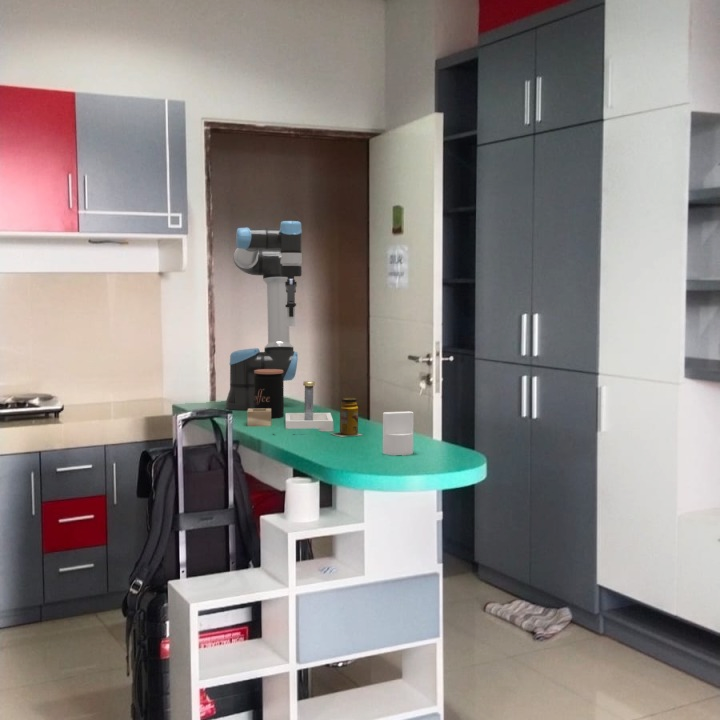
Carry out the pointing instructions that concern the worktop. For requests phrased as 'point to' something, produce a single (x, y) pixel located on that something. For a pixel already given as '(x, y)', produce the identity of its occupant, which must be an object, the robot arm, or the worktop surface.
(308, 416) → the steel pin
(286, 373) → the robot arm
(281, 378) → the coffee jar
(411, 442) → the base with upright slab
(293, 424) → the tray
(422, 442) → the worktop surface
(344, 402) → the condiment
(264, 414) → the block
